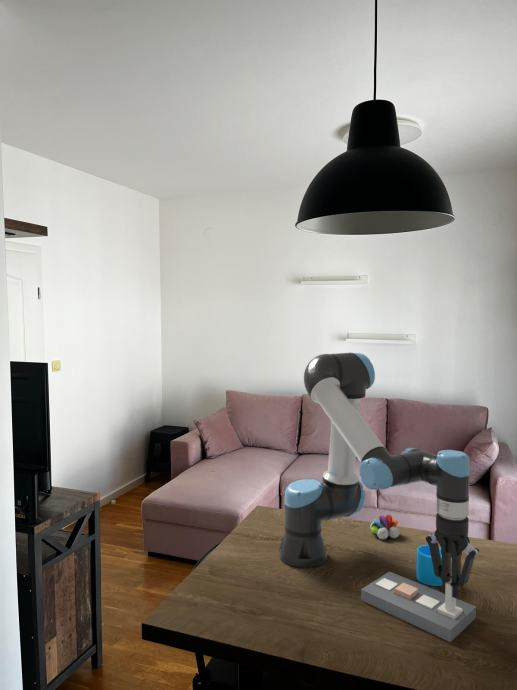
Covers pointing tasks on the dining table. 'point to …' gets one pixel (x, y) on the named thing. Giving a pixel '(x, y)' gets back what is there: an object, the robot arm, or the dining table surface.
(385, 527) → the multicoloured ball cluster
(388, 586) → the key
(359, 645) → the dining table surface
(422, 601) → the key
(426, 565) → the mug
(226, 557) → the dining table surface
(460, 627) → the keypad
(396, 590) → the key
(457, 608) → the key
